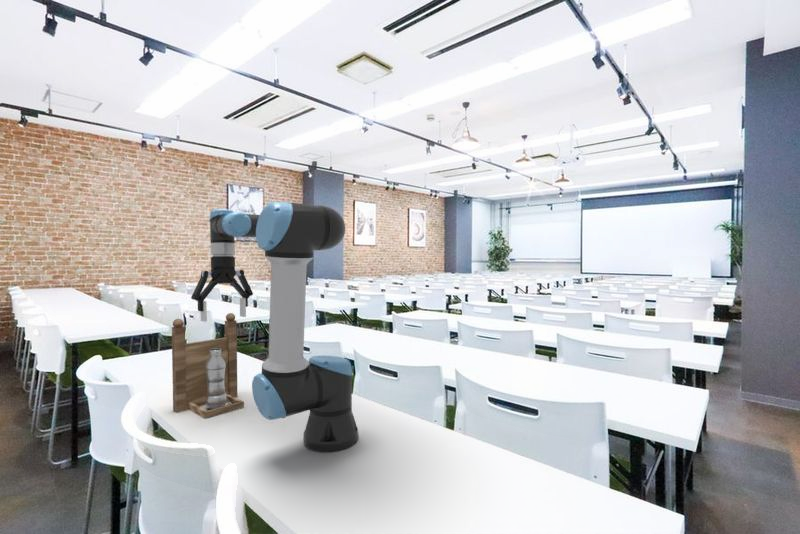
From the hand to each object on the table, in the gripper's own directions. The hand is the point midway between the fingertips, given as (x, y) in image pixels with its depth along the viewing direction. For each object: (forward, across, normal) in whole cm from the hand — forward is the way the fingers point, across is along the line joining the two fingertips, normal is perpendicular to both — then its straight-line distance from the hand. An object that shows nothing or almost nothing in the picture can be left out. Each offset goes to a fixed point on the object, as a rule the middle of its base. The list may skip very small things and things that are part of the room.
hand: (224, 318), depth 139 cm
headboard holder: (+30, +2, -3) cm, 31 cm away
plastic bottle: (+31, +2, -3) cm, 31 cm away
